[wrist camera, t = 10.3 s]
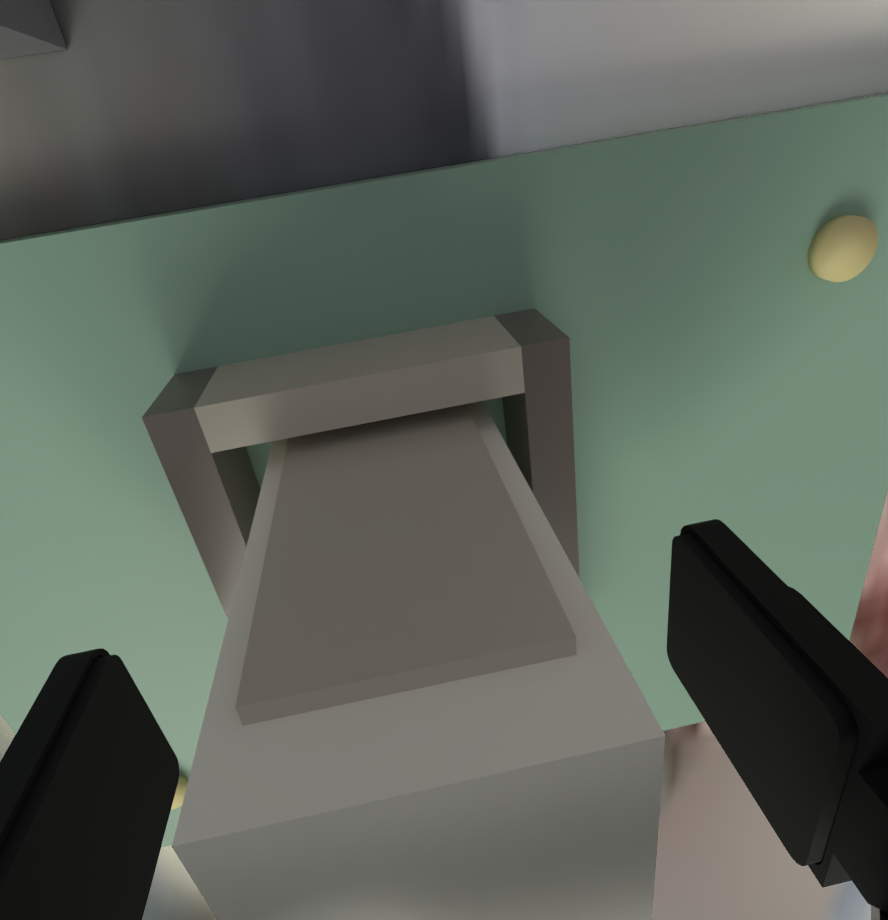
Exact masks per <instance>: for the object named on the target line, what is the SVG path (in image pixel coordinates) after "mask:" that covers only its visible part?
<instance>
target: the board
mask: <svg viewBox="0 0 888 920" xmlns="http://www.w3.org/2000/svg"><path fill="white" fill-rule="evenodd" d="M533 308H535V309H536V310H537V311H539V312H540V313H541V314H542V315H543V316H544V317H546V318H547V319H548V320H549V321H550V322H552V323H553V324H554V325H555V326H556V327H558V328H559V329H560V330H561V331H562V332H564V333H565V334H566V335H567V336H568V337H569V338H570V362H571V386H572V410H573V433H574V457H575V481H576V505H577V529H578V552H579V576H580V581H581V582H582V584H583V586H584V588H585V590H586V592H587V593H588V595H589V597H590V599H591V601H592V603H593V604H594V606H595V608H596V610H597V612H598V614H599V615H600V617H601V619H602V621H603V623H604V625H605V626H606V628H607V630H608V632H609V634H610V636H611V637H612V639H613V641H614V643H615V645H616V647H617V648H618V650H619V652H620V654H621V656H622V658H623V659H624V661H625V663H626V665H627V667H628V669H629V670H630V672H631V674H632V676H633V678H634V680H635V681H636V683H637V685H638V687H639V689H640V691H641V692H642V694H643V696H644V698H645V700H646V702H647V703H648V705H649V707H650V709H651V711H652V713H653V714H654V716H655V718H656V720H657V722H658V724H659V725H660V727H661V729H662V731H664V730H669V729H673V728H677V727H682V726H686V725H690V724H695V723H699V722H703V721H705V719H704V718H703V716H702V715H701V713H700V712H699V710H698V708H697V707H696V705H695V704H694V702H693V700H692V699H691V697H690V696H689V694H688V692H687V691H686V689H685V688H684V686H683V685H682V683H681V681H680V680H679V678H678V677H677V675H676V673H675V672H674V670H673V668H672V666H671V664H670V662H669V659H668V655H667V629H668V610H669V591H670V571H671V552H672V540H673V538H674V537H675V536H679V535H680V532H681V529H682V527H683V526H685V525H689V524H694V523H699V522H704V521H709V520H713V519H718V520H720V521H722V522H723V523H724V524H725V525H726V526H727V527H729V528H730V529H731V530H732V531H733V532H734V533H735V534H736V535H737V536H738V537H739V538H740V539H741V540H742V541H743V542H744V543H745V544H746V545H747V546H748V547H749V548H750V549H751V550H752V551H753V552H754V553H755V554H756V555H757V556H758V557H759V558H760V559H761V560H762V561H763V562H764V563H765V564H766V565H767V566H768V567H769V568H770V569H771V570H772V571H773V572H774V573H775V574H776V575H777V576H778V577H779V578H780V579H781V580H782V581H783V582H784V583H785V584H786V585H787V586H789V587H792V588H794V589H795V590H796V591H798V592H799V593H800V594H802V595H803V596H804V597H805V598H806V599H807V600H808V601H809V602H810V603H811V604H812V605H813V606H814V607H815V608H816V609H817V610H818V611H819V612H820V613H821V614H822V615H823V616H824V617H825V618H826V619H827V620H828V621H829V622H830V623H831V624H832V625H833V626H834V627H835V628H836V629H837V630H839V631H840V632H841V633H842V634H843V635H844V636H845V637H846V638H847V639H848V640H850V636H851V632H852V628H853V624H854V620H855V616H856V612H857V608H858V605H859V601H860V597H861V593H862V589H863V585H864V581H865V577H866V573H867V569H868V565H869V561H870V558H871V554H872V550H873V546H874V542H875V538H876V534H877V530H878V526H879V522H880V518H881V514H882V511H883V507H884V503H885V499H886V495H887V491H888V93H883V94H877V95H871V96H865V97H859V98H853V99H847V100H841V101H835V102H829V103H823V104H817V105H811V106H805V107H799V108H793V109H787V110H781V111H775V112H769V113H763V114H757V115H751V116H745V117H739V118H733V119H727V120H721V121H715V122H709V123H703V124H697V125H691V126H685V127H679V128H673V129H667V130H661V131H655V132H649V133H643V134H637V135H631V136H625V137H619V138H613V139H607V140H601V141H595V142H589V143H583V144H577V145H571V146H565V147H559V148H553V149H547V150H541V151H535V152H529V153H523V154H517V155H511V156H505V157H499V158H493V159H487V160H481V161H475V162H469V163H463V164H457V165H451V166H445V167H439V168H433V169H427V170H421V171H415V172H409V173H403V174H397V175H391V176H385V177H379V178H373V179H367V180H361V181H355V182H349V183H343V184H337V185H331V186H325V187H319V188H313V189H307V190H301V191H295V192H289V193H283V194H277V195H271V196H265V197H259V198H253V199H247V200H241V201H235V202H229V203H223V204H217V205H211V206H205V207H199V208H193V209H187V210H181V211H175V212H169V213H163V214H157V215H151V216H145V217H139V218H133V219H127V220H121V221H115V222H109V223H103V224H97V225H91V226H85V227H79V228H73V229H67V230H61V231H55V232H49V233H43V234H37V235H31V236H25V237H19V238H13V239H7V240H1V241H0V714H1V715H2V717H3V718H4V719H5V721H6V722H7V723H8V725H9V726H10V727H11V729H12V730H13V731H14V733H15V734H16V733H17V732H18V730H19V728H20V726H21V725H22V723H23V721H24V719H25V717H26V716H27V714H28V712H29V710H30V709H31V707H32V705H33V703H34V701H35V700H36V698H37V696H38V694H39V693H40V691H41V689H42V687H43V685H44V684H45V682H46V680H47V678H48V677H49V675H50V673H51V671H52V669H53V668H54V666H55V664H56V663H57V661H58V660H59V659H60V658H62V657H63V656H65V655H70V654H75V653H80V652H84V651H89V650H94V649H100V648H103V649H105V650H107V651H108V653H109V654H110V655H117V656H119V657H120V658H121V660H122V661H123V663H124V665H125V666H126V668H127V670H128V672H129V673H130V675H131V677H132V679H133V681H134V682H135V684H136V686H137V688H138V689H139V691H140V693H141V695H142V696H143V698H144V700H145V702H146V703H147V705H148V707H149V709H150V711H151V712H152V714H153V716H154V718H155V719H156V721H157V723H158V725H159V726H160V728H161V730H162V732H163V733H164V735H165V737H166V739H167V741H168V742H169V744H170V746H171V748H172V749H173V751H174V753H175V755H176V757H177V759H178V763H179V780H178V785H177V788H176V792H175V796H174V800H173V803H172V807H171V811H170V815H169V819H168V822H167V826H166V830H165V834H164V838H163V841H162V845H161V847H163V846H168V845H172V844H173V840H174V836H175V832H176V828H177V824H178V820H179V816H180V812H181V808H182V804H183V800H184V796H185V792H186V788H187V784H188V780H189V776H190V772H191V768H192V764H193V760H194V756H195V752H196V748H197V744H198V740H199V736H200V732H201V728H202V724H203V720H204V716H205V712H206V708H207V703H208V699H209V695H210V691H211V687H212V683H213V679H214V675H215V671H216V667H217V663H218V659H219V655H220V651H221V647H222V643H223V639H224V635H225V631H226V627H227V623H228V619H227V617H226V614H225V612H224V610H223V607H222V605H221V603H220V600H219V598H218V596H217V593H216V591H215V589H214V586H213V584H212V582H211V579H210V577H209V574H208V572H207V570H206V567H205V565H204V563H203V560H202V558H201V556H200V553H199V551H198V549H197V546H196V544H195V542H194V539H193V537H192V535H191V532H190V530H189V528H188V525H187V523H186V521H185V518H184V516H183V514H182V511H181V509H180V506H179V504H178V502H177V499H176V497H175V495H174V492H173V490H172V488H171V485H170V483H169V481H168V478H167V476H166V474H165V471H164V469H163V467H162V464H161V462H160V460H159V457H158V455H157V453H156V450H155V448H154V446H153V443H152V441H151V439H150V436H149V434H148V431H147V429H146V427H145V424H144V422H143V420H142V416H143V415H144V414H145V412H146V411H147V410H148V408H149V407H150V406H151V404H152V403H153V402H154V401H155V399H156V398H157V397H158V395H159V394H160V393H161V391H162V390H163V389H164V387H165V386H166V385H167V383H168V382H169V381H170V379H171V378H172V377H173V376H174V374H179V373H184V372H190V371H195V370H201V369H206V368H212V367H217V366H222V365H228V364H233V363H239V362H244V361H250V360H255V359H261V358H266V357H272V356H277V355H282V354H288V353H293V352H299V351H304V350H310V349H315V348H321V347H326V346H332V345H337V344H342V343H348V342H353V341H359V340H364V339H370V338H375V337H381V336H386V335H392V334H397V333H402V332H408V331H413V330H419V329H424V328H430V327H435V326H441V325H446V324H452V323H457V322H462V321H468V320H473V319H479V318H484V317H490V316H495V315H501V314H506V313H512V312H517V311H522V310H528V309H533ZM483 403H484V405H485V406H486V408H487V410H488V412H489V414H490V416H491V417H492V419H493V421H494V423H495V425H496V427H497V428H498V430H499V432H500V434H501V436H502V438H503V439H504V441H505V443H506V445H507V440H506V430H505V421H504V411H503V401H502V397H500V398H495V399H489V400H484V401H483ZM272 442H273V441H271V442H266V443H260V444H255V445H250V446H246V449H247V452H248V455H249V458H250V460H251V463H252V466H253V469H254V472H255V475H256V478H257V481H258V484H259V487H260V490H261V486H262V482H263V478H264V474H265V470H266V466H267V462H268V458H269V454H270V450H271V446H272Z"/></svg>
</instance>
